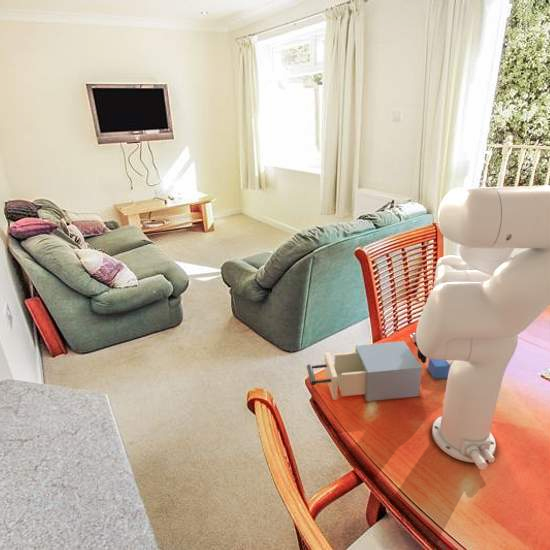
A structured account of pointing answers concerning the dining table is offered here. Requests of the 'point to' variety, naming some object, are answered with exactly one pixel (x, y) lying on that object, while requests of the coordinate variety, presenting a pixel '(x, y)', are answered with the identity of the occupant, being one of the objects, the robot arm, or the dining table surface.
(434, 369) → the blue wooden cube
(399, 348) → the grey drawer cabinet
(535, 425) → the dining table surface
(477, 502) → the dining table surface
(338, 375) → the drawer
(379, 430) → the dining table surface
